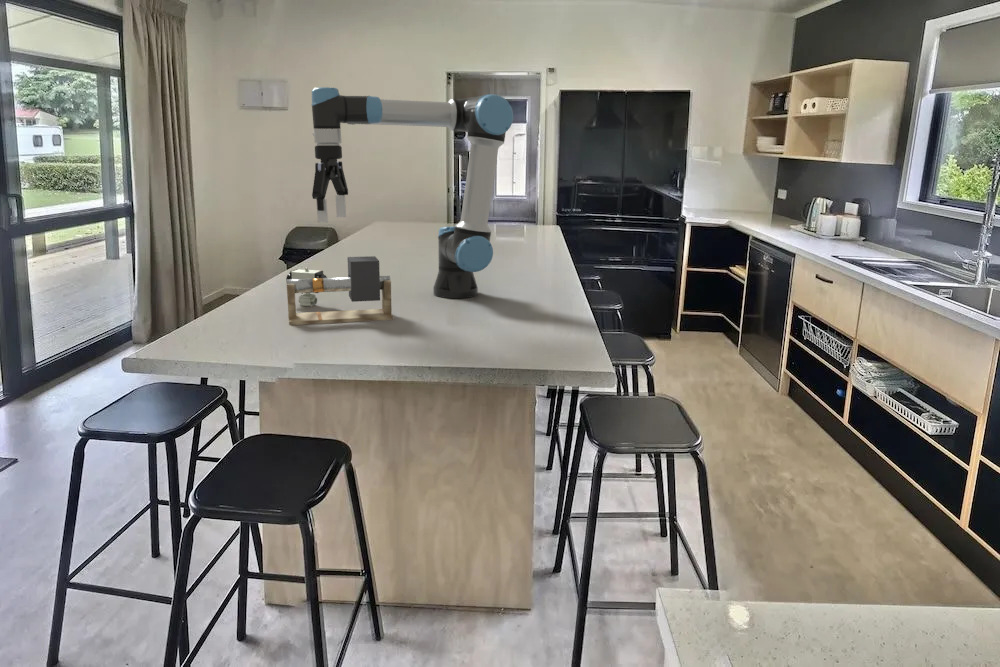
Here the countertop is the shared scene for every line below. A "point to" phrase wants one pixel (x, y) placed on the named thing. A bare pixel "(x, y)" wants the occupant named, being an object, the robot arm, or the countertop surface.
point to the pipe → (326, 284)
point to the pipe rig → (340, 315)
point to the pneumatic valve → (307, 298)
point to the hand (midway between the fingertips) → (332, 219)
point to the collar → (364, 278)
